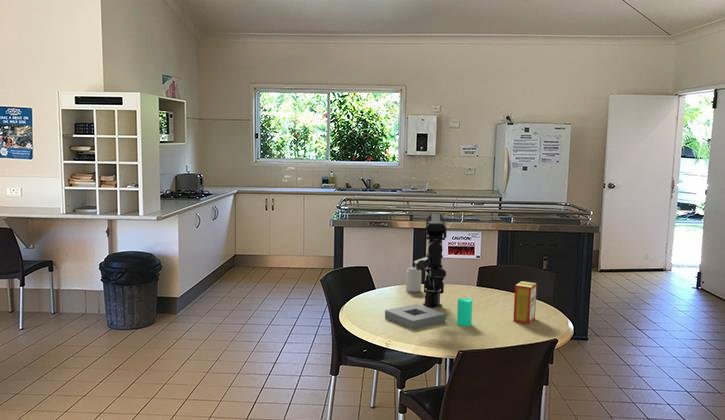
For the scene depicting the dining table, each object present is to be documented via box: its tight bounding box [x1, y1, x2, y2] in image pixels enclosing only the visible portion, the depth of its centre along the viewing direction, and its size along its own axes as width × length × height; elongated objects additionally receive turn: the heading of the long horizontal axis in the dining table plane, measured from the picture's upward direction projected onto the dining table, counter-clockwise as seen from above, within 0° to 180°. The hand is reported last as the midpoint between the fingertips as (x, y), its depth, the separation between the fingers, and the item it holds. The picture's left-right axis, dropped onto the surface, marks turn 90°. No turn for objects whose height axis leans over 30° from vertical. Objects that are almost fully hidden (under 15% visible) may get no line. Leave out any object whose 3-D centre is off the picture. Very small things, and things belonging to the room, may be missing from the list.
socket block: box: [384, 303, 447, 330], centre depth 247 cm, size 18×18×4 cm
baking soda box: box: [513, 280, 538, 325], centre depth 250 cm, size 10×6×16 cm
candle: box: [456, 297, 473, 327], centre depth 243 cm, size 6×6×12 cm
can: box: [405, 266, 422, 293], centre depth 296 cm, size 8×8×12 cm
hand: (433, 288), depth 246 cm, fingers open, 9 cm apart
